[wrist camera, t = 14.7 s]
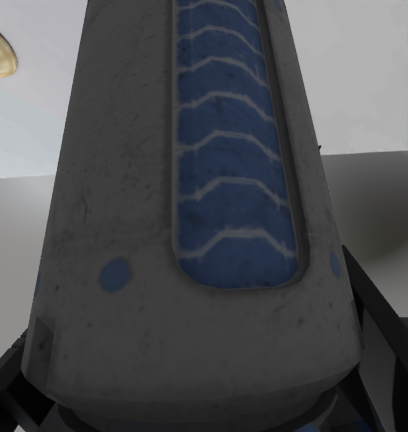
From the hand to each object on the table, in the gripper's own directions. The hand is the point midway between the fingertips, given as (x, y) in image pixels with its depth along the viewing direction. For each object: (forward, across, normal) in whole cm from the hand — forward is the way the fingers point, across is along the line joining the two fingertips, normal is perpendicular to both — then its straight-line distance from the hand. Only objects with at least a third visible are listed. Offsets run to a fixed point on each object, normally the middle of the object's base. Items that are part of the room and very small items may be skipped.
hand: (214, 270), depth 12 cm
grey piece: (+7, 0, +11) cm, 13 cm away
